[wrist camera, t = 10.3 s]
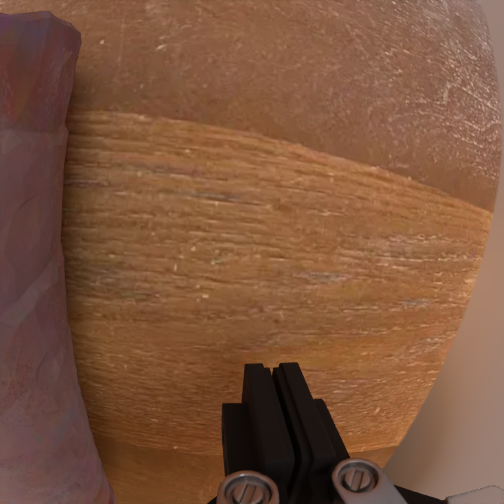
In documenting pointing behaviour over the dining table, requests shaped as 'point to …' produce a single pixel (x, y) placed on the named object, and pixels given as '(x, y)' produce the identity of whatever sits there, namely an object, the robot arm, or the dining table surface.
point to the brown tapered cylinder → (38, 275)
